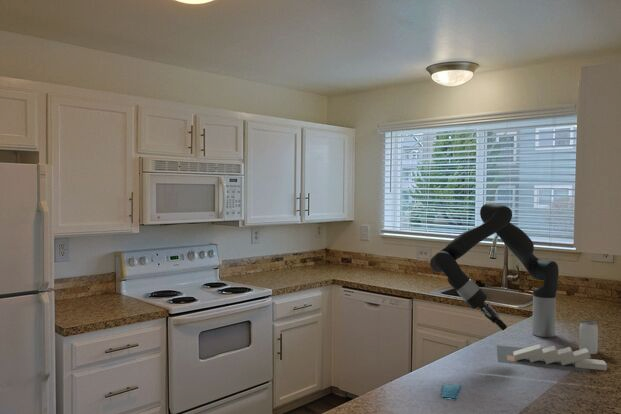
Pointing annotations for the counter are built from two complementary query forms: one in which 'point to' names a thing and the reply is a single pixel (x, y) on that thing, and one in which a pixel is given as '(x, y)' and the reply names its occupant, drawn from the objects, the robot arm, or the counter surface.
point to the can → (588, 336)
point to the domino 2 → (544, 354)
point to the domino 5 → (591, 364)
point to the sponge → (450, 390)
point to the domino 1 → (528, 352)
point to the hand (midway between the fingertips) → (505, 328)
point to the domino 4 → (576, 356)
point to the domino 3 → (560, 355)
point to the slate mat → (507, 356)
